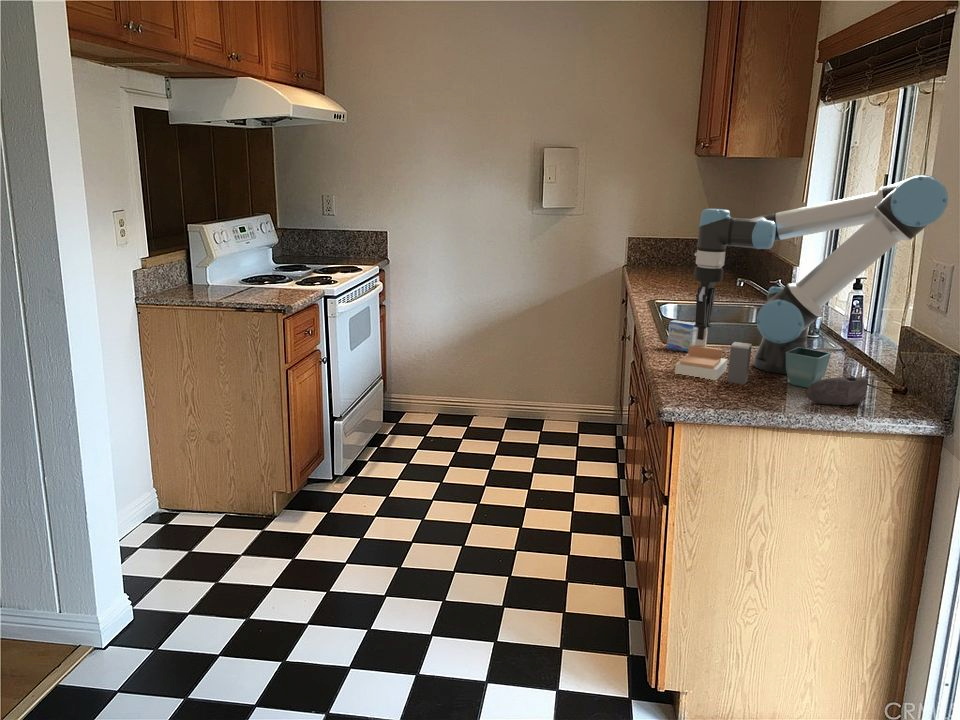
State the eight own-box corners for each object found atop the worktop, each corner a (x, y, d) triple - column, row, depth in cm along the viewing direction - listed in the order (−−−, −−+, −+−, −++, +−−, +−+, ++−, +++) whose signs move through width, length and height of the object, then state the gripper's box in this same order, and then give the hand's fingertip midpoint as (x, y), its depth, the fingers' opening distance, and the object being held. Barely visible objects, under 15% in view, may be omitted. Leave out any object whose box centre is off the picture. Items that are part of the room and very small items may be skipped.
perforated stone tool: (808, 406, 193) (812, 378, 192) (801, 400, 198) (804, 373, 197) (871, 409, 193) (876, 381, 191) (862, 402, 198) (866, 375, 196)
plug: (747, 380, 215) (751, 344, 212) (744, 384, 211) (748, 347, 208) (730, 377, 217) (734, 341, 214) (726, 381, 213) (731, 344, 210)
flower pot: (814, 392, 206) (819, 358, 204) (780, 384, 211) (785, 351, 209) (827, 385, 212) (831, 352, 210) (793, 379, 218) (798, 346, 216)
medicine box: (666, 348, 248) (668, 321, 246) (671, 346, 252) (674, 319, 249) (691, 353, 244) (693, 325, 242) (696, 350, 247) (699, 322, 245)
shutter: (721, 360, 222) (722, 349, 221) (713, 368, 213) (714, 356, 212) (689, 356, 226) (690, 344, 225) (679, 363, 217) (680, 351, 216)
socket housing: (726, 369, 225) (727, 359, 225) (715, 380, 213) (717, 369, 213) (687, 363, 230) (688, 353, 230) (674, 374, 218) (675, 363, 217)
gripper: (701, 262, 227) (692, 344, 232) (689, 267, 215) (680, 352, 221) (728, 265, 223) (718, 347, 229) (717, 270, 212) (707, 356, 218)
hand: (700, 350), depth 225 cm, fingers closed
